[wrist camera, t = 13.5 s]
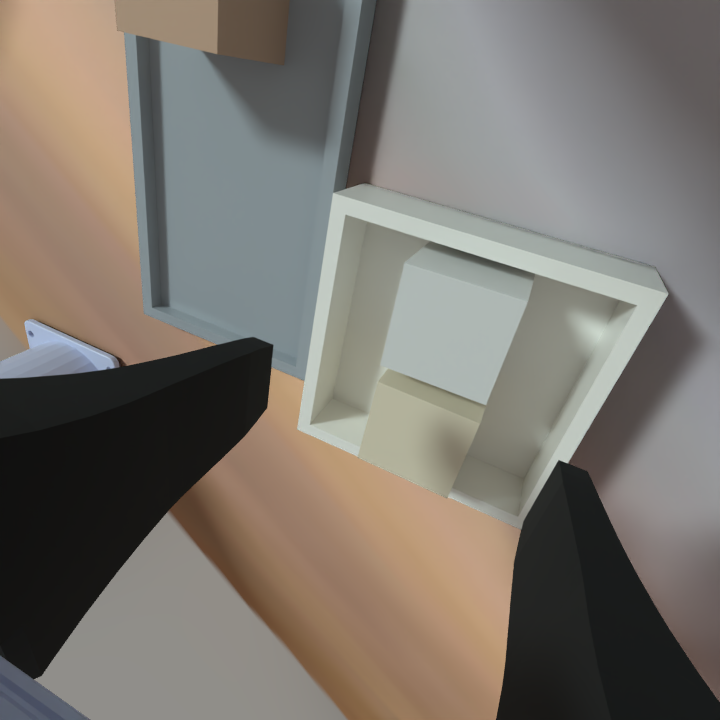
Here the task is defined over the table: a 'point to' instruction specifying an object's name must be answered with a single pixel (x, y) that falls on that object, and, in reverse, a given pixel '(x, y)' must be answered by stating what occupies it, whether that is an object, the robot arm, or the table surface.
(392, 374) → the cream cube
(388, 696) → the table surface
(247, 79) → the parts tray
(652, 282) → the dish
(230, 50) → the tan cube
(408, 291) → the light grey cube
